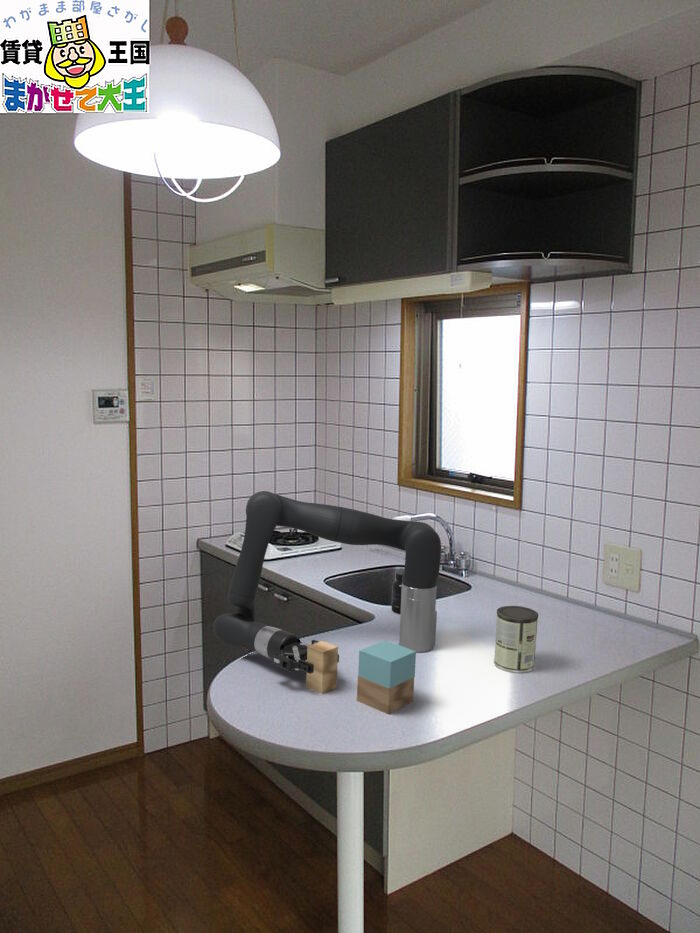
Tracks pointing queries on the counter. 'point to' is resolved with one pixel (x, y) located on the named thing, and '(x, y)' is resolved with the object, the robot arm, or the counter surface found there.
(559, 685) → the counter surface
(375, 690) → the walnut base block
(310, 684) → the oak block
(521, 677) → the counter surface
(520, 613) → the coffee can
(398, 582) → the supplement bottle
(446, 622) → the counter surface
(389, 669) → the teal top block
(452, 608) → the counter surface
